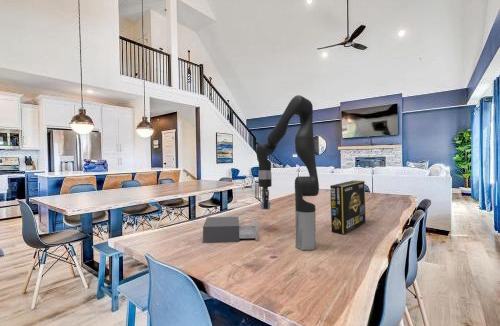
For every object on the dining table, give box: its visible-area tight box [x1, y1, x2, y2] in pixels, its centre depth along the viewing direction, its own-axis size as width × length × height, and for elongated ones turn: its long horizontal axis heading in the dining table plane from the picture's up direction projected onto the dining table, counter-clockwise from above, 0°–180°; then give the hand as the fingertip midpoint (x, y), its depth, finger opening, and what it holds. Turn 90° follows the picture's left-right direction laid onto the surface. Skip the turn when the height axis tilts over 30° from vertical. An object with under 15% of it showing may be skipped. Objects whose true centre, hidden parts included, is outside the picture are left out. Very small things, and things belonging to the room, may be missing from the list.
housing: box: [202, 216, 240, 244], centre depth 138 cm, size 18×20×8 cm
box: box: [329, 180, 367, 235], centre depth 153 cm, size 34×8×27 cm, turn 137°
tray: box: [239, 215, 259, 241], centre depth 139 cm, size 18×20×8 cm
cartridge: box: [260, 200, 271, 210], centre depth 147 cm, size 4×5×4 cm
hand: (265, 207), depth 147 cm, fingers closed on cartridge, 4 cm apart
